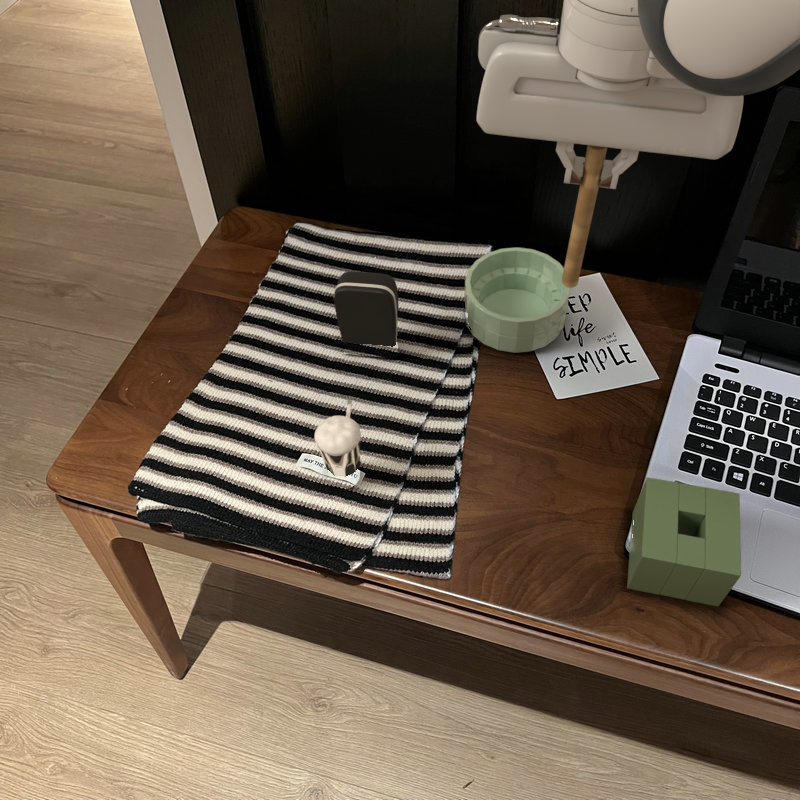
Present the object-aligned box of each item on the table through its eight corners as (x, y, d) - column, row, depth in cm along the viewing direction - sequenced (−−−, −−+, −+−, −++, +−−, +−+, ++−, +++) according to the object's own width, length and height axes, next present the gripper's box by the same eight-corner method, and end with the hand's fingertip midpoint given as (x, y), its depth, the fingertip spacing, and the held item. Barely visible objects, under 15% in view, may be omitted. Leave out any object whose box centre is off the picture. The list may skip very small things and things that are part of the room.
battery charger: (403, 337, 95) (399, 268, 86) (398, 361, 93) (393, 293, 83) (347, 332, 96) (337, 263, 87) (341, 356, 93) (330, 288, 84)
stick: (578, 277, 77) (608, 139, 64) (577, 289, 76) (607, 150, 64) (562, 275, 78) (589, 136, 65) (560, 286, 77) (587, 148, 64)
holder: (718, 528, 78) (739, 493, 72) (718, 606, 73) (741, 575, 67) (632, 512, 79) (646, 476, 74) (626, 588, 74) (641, 556, 69)
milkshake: (377, 461, 84) (370, 407, 76) (355, 501, 81) (345, 449, 73) (340, 448, 85) (329, 392, 78) (317, 486, 83) (303, 433, 75)
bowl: (569, 290, 98) (575, 254, 94) (557, 362, 91) (564, 328, 87) (474, 277, 100) (475, 241, 96) (455, 347, 93) (456, 313, 89)
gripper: (472, 34, 56) (465, 190, 67) (770, 62, 53) (710, 221, 64) (487, -8, 60) (477, 146, 71) (766, 15, 56) (710, 173, 67)
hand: (590, 182), depth 67 cm, fingers closed on stick, 1 cm apart
